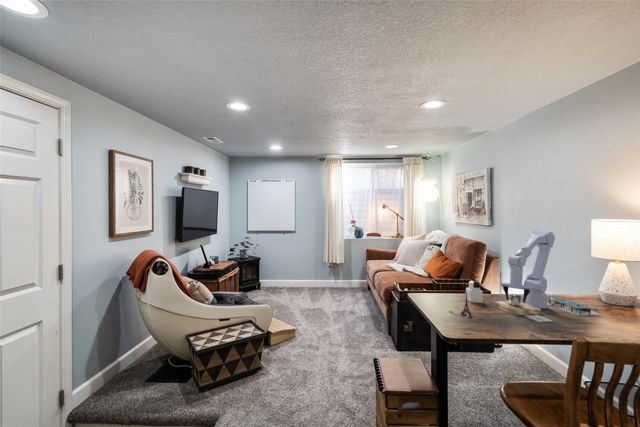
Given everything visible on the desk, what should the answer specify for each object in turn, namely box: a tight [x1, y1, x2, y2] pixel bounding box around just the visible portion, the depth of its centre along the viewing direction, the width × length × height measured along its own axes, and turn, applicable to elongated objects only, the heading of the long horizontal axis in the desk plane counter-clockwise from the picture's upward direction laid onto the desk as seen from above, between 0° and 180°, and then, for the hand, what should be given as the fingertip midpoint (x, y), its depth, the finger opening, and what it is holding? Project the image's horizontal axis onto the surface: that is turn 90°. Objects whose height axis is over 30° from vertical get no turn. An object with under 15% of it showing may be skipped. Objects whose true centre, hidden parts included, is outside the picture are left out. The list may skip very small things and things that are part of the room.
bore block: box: [491, 300, 541, 316], centre depth 167 cm, size 16×16×2 cm
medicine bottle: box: [465, 280, 484, 304], centre depth 182 cm, size 7×7×12 cm
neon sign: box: [547, 297, 611, 316], centre depth 173 cm, size 21×4×29 cm
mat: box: [524, 314, 553, 323], centre depth 154 cm, size 8×8×1 cm
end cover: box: [510, 294, 521, 307], centre depth 167 cm, size 4×4×8 cm
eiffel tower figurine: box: [447, 292, 473, 320], centre depth 157 cm, size 15×10×13 cm
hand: (515, 301), depth 167 cm, fingers open, 7 cm apart
